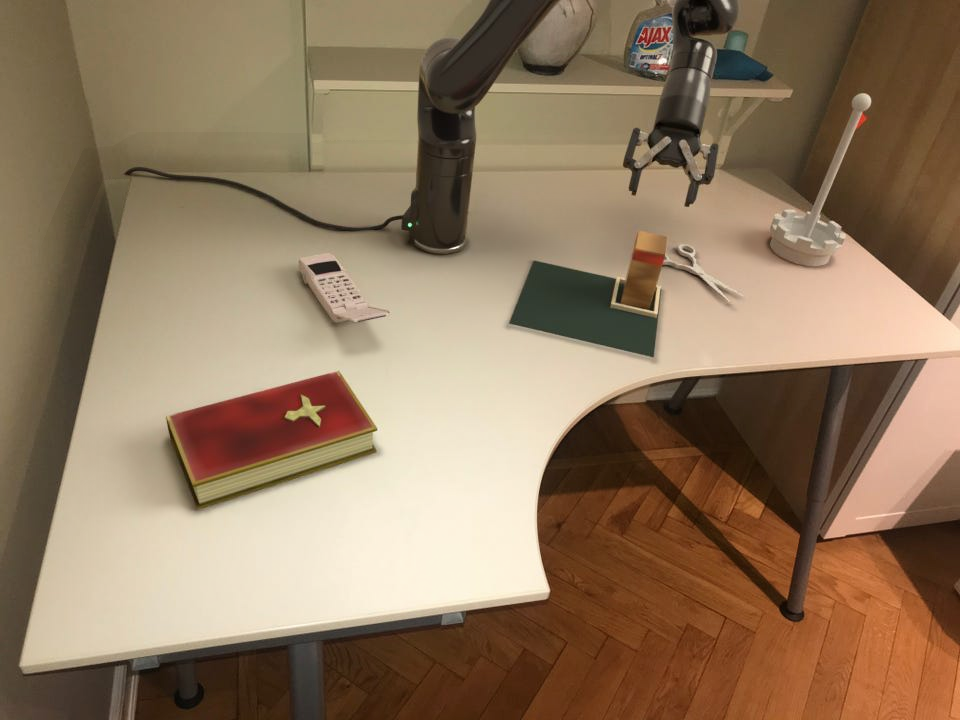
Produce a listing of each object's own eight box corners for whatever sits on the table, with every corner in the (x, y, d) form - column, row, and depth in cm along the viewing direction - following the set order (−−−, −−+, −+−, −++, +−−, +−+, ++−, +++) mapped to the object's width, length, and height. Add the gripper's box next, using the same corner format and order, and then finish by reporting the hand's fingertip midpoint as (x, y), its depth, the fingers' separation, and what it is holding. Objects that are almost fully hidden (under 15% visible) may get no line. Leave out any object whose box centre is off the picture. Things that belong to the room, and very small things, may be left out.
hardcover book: (169, 438, 90) (164, 412, 87) (337, 392, 99) (337, 366, 97) (197, 510, 82) (192, 483, 79) (376, 452, 92) (377, 426, 89)
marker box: (619, 305, 122) (635, 247, 116) (623, 286, 127) (638, 230, 121) (648, 311, 122) (665, 254, 115) (651, 292, 126) (667, 236, 120)
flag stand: (812, 276, 138) (884, 113, 119) (751, 244, 145) (810, 86, 127) (847, 257, 145) (919, 101, 127) (787, 228, 152) (848, 76, 134)
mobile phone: (352, 321, 102) (290, 232, 118) (350, 356, 105) (291, 265, 122) (393, 312, 105) (327, 227, 121) (390, 347, 108) (327, 259, 124)
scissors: (680, 239, 142) (763, 293, 129) (679, 242, 142) (761, 297, 130) (638, 249, 137) (719, 307, 124) (637, 253, 137) (718, 311, 125)
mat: (508, 325, 115) (509, 318, 114) (533, 262, 131) (534, 256, 130) (652, 360, 112) (655, 353, 112) (660, 291, 128) (662, 284, 127)
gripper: (641, 85, 120) (618, 181, 118) (732, 102, 118) (710, 200, 116) (636, 107, 127) (614, 198, 126) (722, 124, 126) (701, 217, 124)
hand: (660, 199), depth 121 cm, fingers open, 8 cm apart
